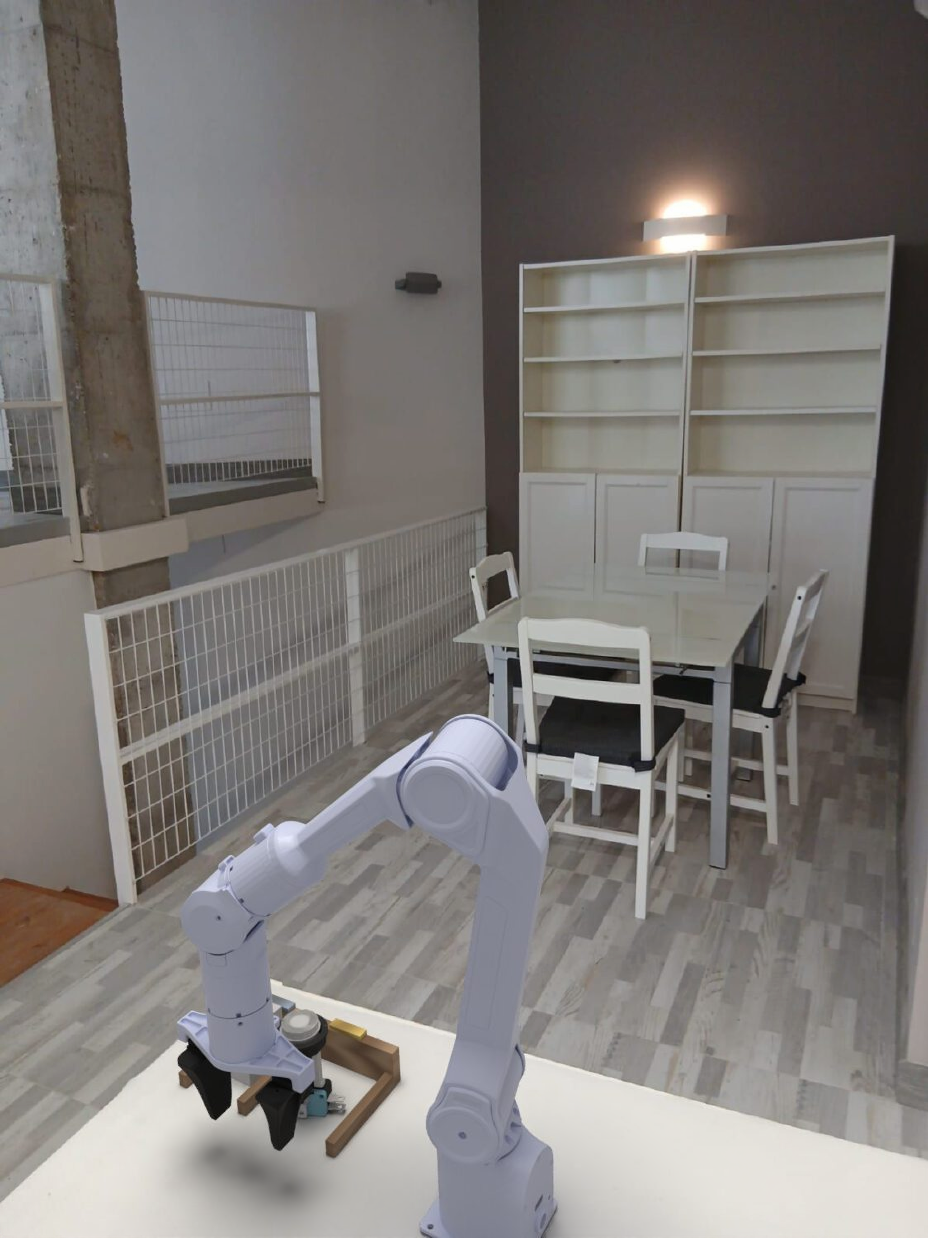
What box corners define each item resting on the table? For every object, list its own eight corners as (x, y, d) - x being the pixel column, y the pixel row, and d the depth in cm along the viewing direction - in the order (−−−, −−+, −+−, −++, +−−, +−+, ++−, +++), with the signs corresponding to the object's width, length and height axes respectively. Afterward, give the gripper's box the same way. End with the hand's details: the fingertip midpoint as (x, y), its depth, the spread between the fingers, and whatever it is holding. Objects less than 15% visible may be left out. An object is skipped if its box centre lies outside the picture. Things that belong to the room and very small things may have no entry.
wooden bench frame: (400, 1080, 95) (398, 1042, 94) (334, 1158, 86) (331, 1116, 85) (253, 1021, 105) (250, 985, 104) (179, 1085, 96) (175, 1047, 94)
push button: (353, 1093, 94) (347, 1007, 91) (336, 1133, 89) (329, 1044, 86) (291, 1085, 95) (284, 1001, 93) (271, 1125, 90) (263, 1037, 88)
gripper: (332, 995, 81) (342, 1125, 84) (210, 951, 88) (224, 1072, 91) (279, 1045, 75) (292, 1182, 78) (153, 993, 82) (169, 1121, 85)
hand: (251, 1127), depth 84 cm, fingers open, 7 cm apart
